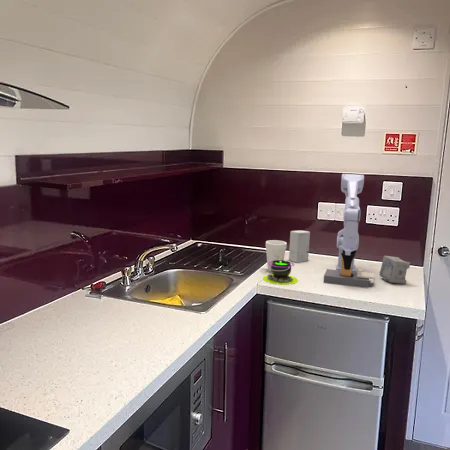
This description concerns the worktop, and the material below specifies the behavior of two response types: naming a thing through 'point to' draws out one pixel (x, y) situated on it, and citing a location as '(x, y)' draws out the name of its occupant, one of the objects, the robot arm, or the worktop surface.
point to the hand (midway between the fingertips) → (347, 268)
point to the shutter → (365, 274)
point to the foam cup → (275, 251)
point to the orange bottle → (345, 272)
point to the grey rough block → (394, 269)
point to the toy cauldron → (280, 273)
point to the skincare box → (299, 246)
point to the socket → (345, 279)
